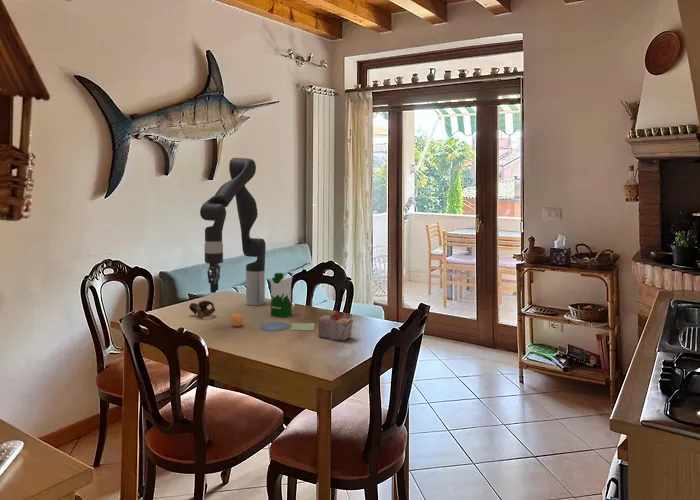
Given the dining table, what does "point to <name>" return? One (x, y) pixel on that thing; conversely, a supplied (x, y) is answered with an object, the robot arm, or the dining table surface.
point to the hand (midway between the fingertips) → (214, 291)
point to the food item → (335, 327)
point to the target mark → (274, 326)
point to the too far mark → (302, 326)
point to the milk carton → (280, 295)
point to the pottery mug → (202, 308)
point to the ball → (237, 320)
